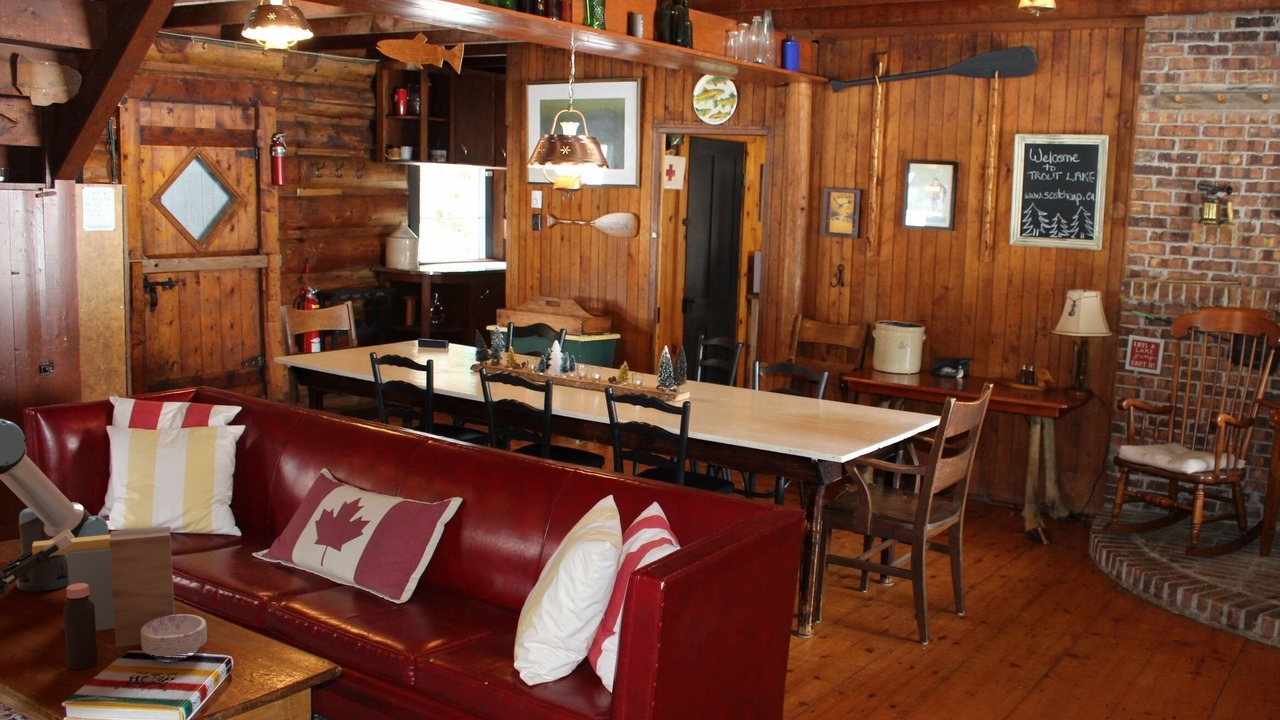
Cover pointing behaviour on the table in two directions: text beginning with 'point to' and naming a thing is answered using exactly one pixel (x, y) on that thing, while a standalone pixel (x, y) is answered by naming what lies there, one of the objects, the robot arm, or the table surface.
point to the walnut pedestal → (140, 580)
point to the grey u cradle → (94, 582)
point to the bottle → (80, 628)
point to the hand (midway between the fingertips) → (70, 536)
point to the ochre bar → (76, 544)
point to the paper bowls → (173, 635)
